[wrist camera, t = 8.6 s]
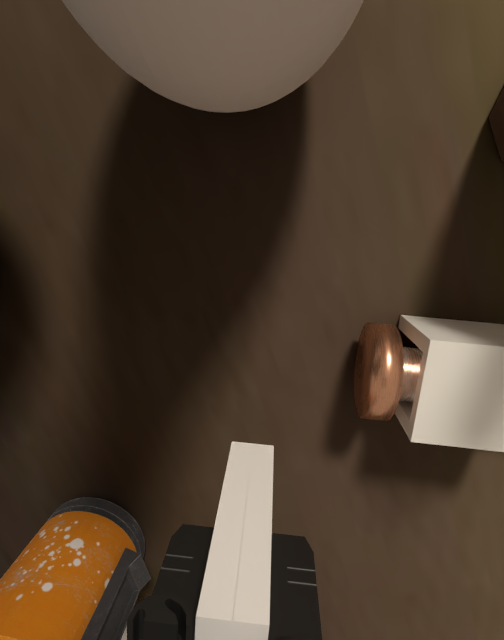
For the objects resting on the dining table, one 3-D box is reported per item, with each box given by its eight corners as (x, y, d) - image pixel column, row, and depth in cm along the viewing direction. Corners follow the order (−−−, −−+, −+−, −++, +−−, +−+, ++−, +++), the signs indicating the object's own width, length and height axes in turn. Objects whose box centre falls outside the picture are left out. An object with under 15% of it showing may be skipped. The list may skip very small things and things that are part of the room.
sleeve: (386, 397, 31) (410, 441, 25) (400, 314, 30) (430, 340, 24) (492, 408, 31) (545, 456, 25) (513, 325, 29) (574, 353, 23)
